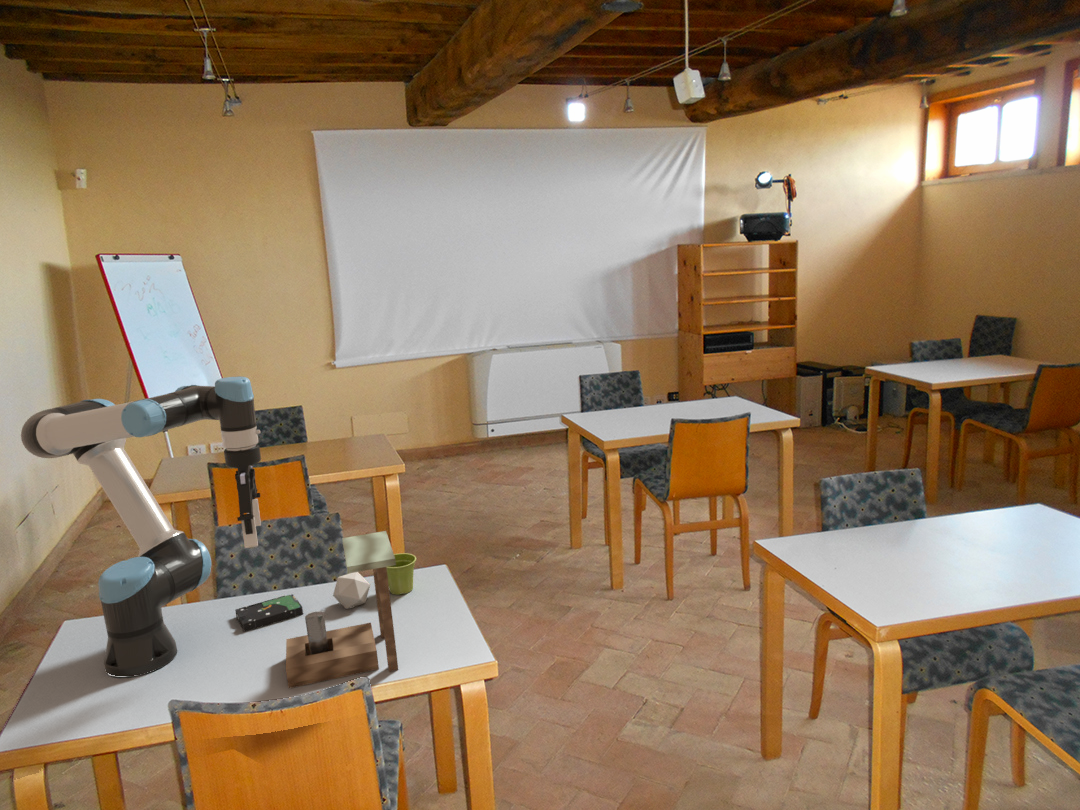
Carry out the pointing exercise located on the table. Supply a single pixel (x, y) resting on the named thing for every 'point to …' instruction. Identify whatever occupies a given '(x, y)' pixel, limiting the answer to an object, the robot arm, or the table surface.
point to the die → (351, 590)
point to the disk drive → (268, 612)
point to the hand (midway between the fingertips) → (253, 536)
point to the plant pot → (401, 574)
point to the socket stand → (356, 643)
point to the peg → (316, 633)
